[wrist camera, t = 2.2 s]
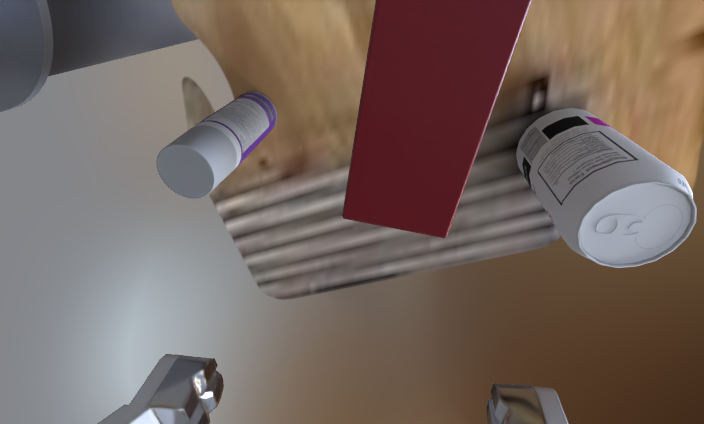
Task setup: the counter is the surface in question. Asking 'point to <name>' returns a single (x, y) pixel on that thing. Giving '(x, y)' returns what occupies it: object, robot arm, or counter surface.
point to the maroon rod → (426, 107)
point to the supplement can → (605, 190)
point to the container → (216, 145)
